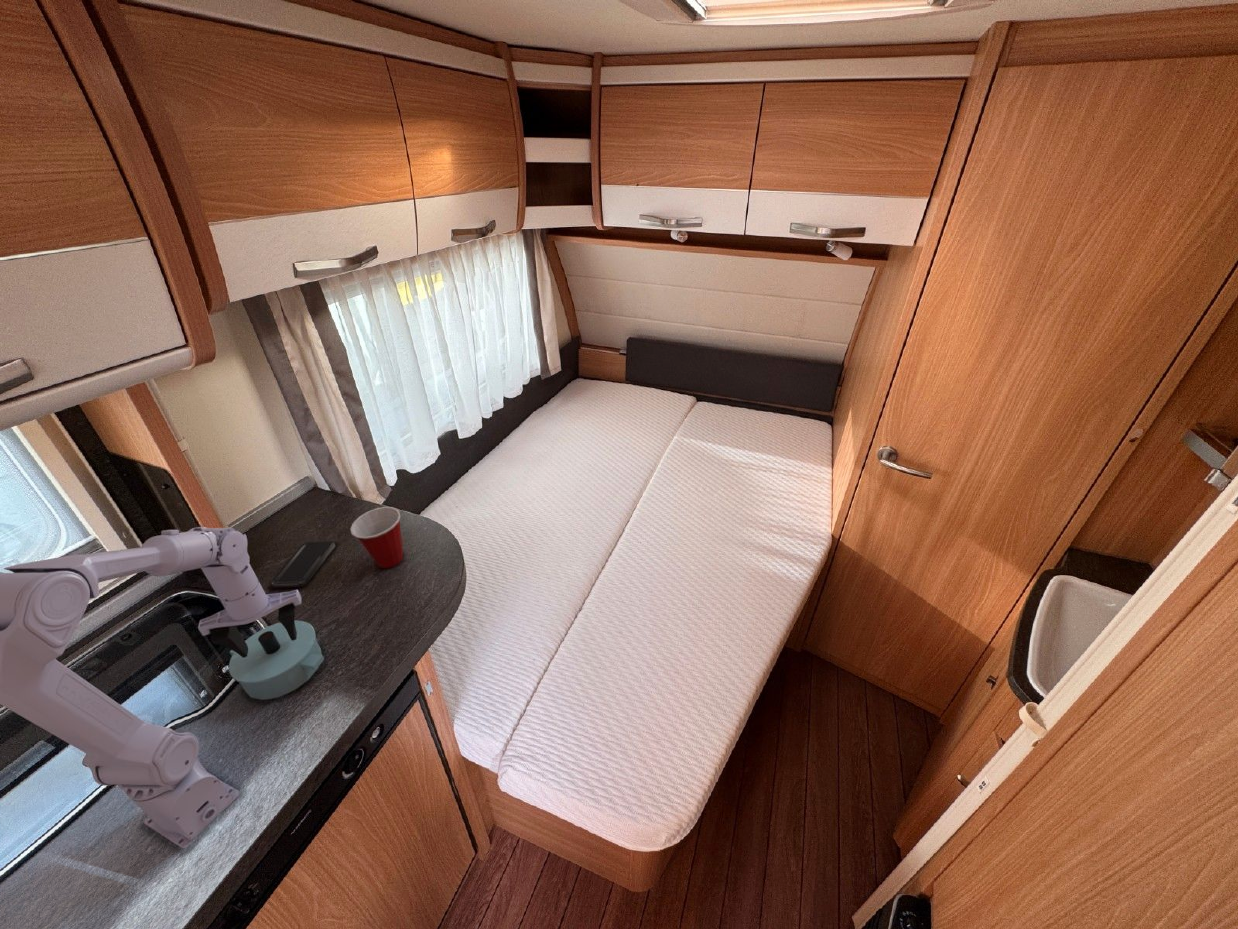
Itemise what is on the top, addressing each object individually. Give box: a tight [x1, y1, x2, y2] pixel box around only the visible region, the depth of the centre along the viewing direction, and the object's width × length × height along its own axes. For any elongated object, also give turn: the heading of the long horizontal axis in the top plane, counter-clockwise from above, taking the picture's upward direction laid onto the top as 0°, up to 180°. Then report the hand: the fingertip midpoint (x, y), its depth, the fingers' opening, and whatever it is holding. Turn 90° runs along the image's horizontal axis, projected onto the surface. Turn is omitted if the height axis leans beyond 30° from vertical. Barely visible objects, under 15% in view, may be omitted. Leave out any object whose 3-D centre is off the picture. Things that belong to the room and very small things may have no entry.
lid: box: [228, 619, 317, 684], centre depth 92 cm, size 14×14×4 cm
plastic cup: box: [350, 506, 404, 569], centre depth 118 cm, size 11×11×12 cm
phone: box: [270, 540, 336, 589], centre depth 121 cm, size 8×1×15 cm
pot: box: [229, 637, 325, 701], centre depth 94 cm, size 13×18×5 cm
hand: (270, 644), depth 92 cm, fingers open, 7 cm apart
